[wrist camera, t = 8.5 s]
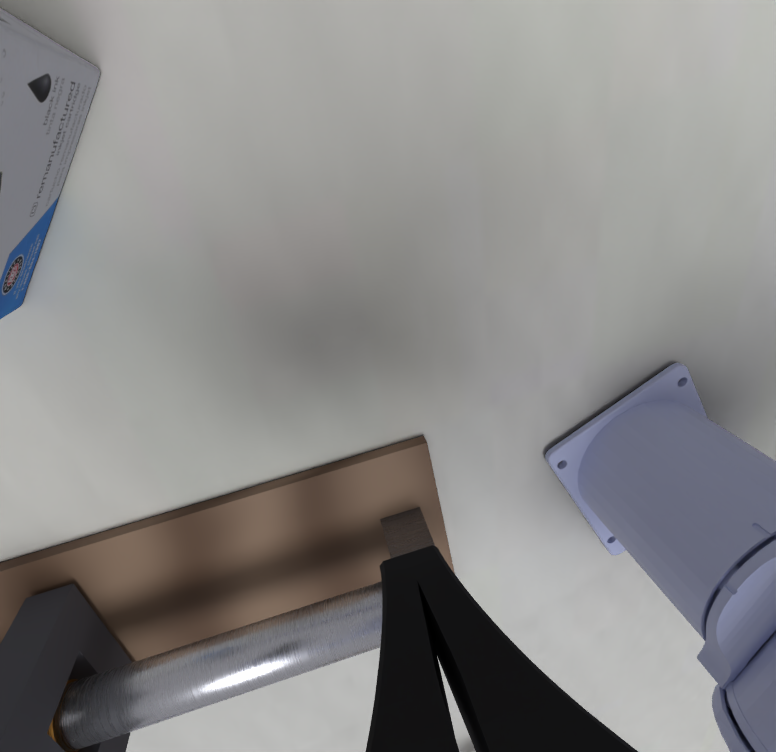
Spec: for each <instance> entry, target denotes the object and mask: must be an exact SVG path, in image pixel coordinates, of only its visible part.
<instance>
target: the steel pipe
mask: <svg viewBox="0 0 776 752" xmlns="http://www.w3.org/2000/svg"><path fill="white" fill-rule="evenodd" d="M380 521H381V524H382V528H383V532H384V535H385V539H386V542H387V546H388V550H389V553H390V557H391V558H394V557H397V556H400V555H404V554H407V553H410V552H413V551H416V550H419V549H422V548H425V547H428V546H431V545H433V546H435V544H434V542H433V539H432V537H431V534H430V532H429V529H428V527H427V524H426V521H425V519H424V516H423V514H422V511H421V509H420V507H417V508H414V509H410V510H407V511H404V512H401V513H398V514H394V515H391V516H388V517H385V518H382V519H380ZM381 631H382V581H380V582H377V583H374V584H371V585H368V586H365V587H362V588H359V589H356V590H353V591H350V592H347V593H344V594H340V595H337V596H334V597H331V598H328V599H325V600H322V601H319V602H316V603H313V604H310V605H307V606H304V607H301V608H298V609H294V610H291V611H288V612H285V613H282V614H279V615H276V616H273V617H270V618H267V619H264V620H261V621H258V622H255V623H252V624H248V625H245V626H242V627H239V628H236V629H233V630H230V631H227V632H224V633H221V634H218V635H215V636H212V637H209V638H206V639H202V640H199V641H196V642H193V643H190V644H187V645H184V646H181V647H178V648H175V649H172V650H169V651H166V652H163V653H160V654H156V655H153V656H150V657H147V658H144V659H141V660H138V661H135V662H132V663H129V664H126V665H123V666H120V667H117V668H114V669H110V670H107V671H104V672H101V673H98V674H95V675H92V676H89V677H86V678H83V679H80V680H77V679H71V680H68V681H67V684H66V686H65V689H64V691H63V694H62V696H61V699H60V701H59V704H58V707H57V709H56V712H55V714H54V717H53V719H52V722H51V725H50V727H49V730H48V732H47V734H48V735H49V736H50V737H51V738H52V739H53V740H54V741H55V742H56V743H57V744H58V745H59V746H60V747H61V748H62V749H63V750H64V751H65V752H77V751H78V750H79V749H82V748H85V747H87V746H90V745H93V744H96V743H99V742H102V741H105V740H108V739H111V738H114V737H117V736H120V735H123V734H126V733H129V732H132V731H135V730H138V729H141V728H144V727H147V726H149V725H152V724H155V723H158V722H161V721H164V720H167V719H170V718H173V717H176V716H179V715H182V714H185V713H188V712H191V711H194V710H197V709H200V708H203V707H206V706H208V705H211V704H214V703H217V702H220V701H223V700H226V699H229V698H232V697H235V696H238V695H241V694H244V693H247V692H250V691H253V690H256V689H259V688H262V687H265V686H268V685H270V684H273V683H276V682H279V681H282V680H285V679H288V678H291V677H294V676H297V675H300V674H303V673H306V672H309V671H312V670H315V669H318V668H321V667H324V666H327V665H330V664H332V663H335V662H338V661H341V660H344V659H347V658H350V657H353V656H356V655H359V654H362V653H365V652H368V651H371V650H374V649H377V648H380V647H381Z"/></svg>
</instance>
